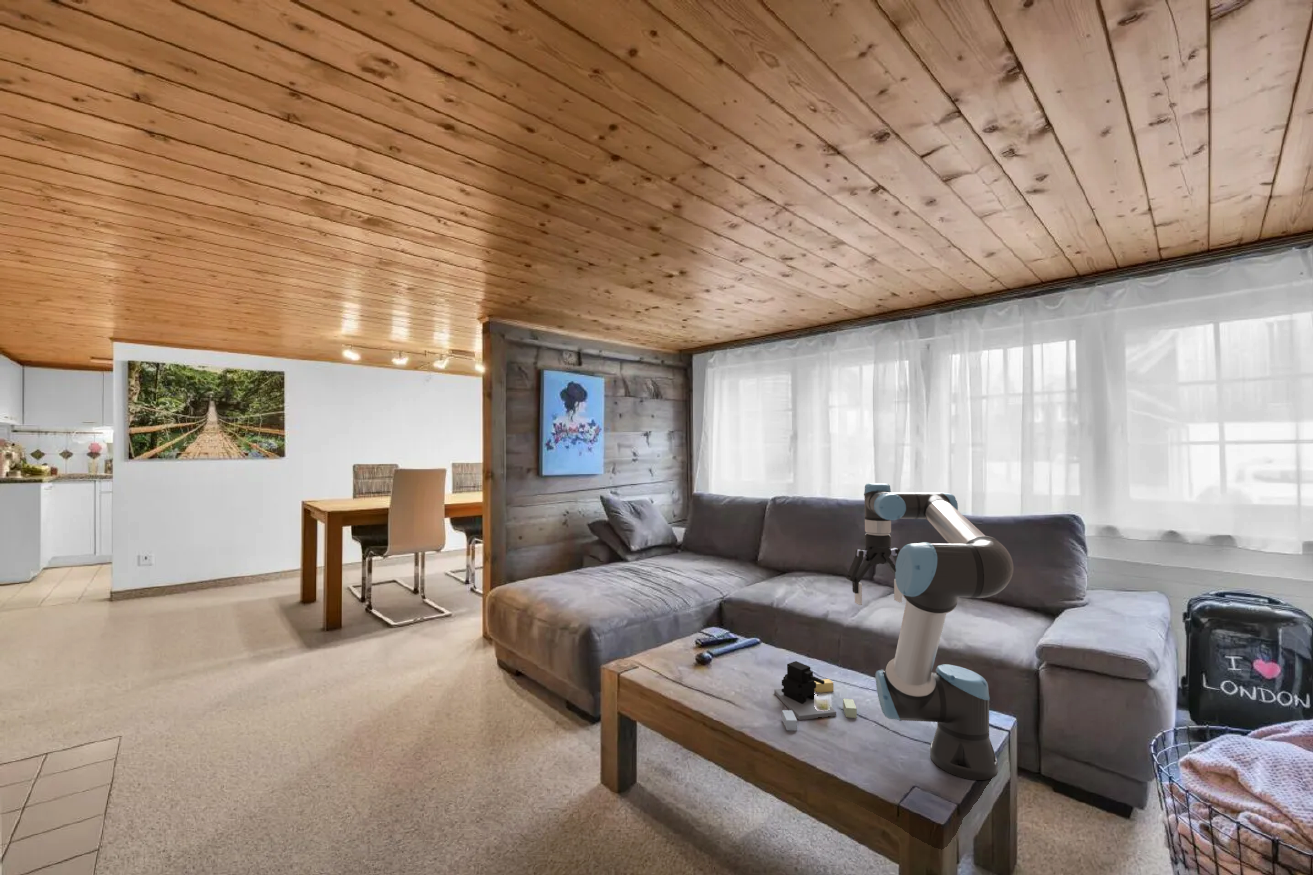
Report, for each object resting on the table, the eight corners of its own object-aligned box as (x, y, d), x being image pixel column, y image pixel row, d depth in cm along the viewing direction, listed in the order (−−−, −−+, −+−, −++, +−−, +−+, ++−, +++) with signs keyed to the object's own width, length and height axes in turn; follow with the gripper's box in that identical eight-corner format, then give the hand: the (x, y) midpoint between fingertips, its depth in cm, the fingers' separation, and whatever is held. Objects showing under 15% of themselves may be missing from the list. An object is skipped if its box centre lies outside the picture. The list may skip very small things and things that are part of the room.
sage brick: (856, 718, 164) (856, 708, 165) (846, 717, 165) (846, 707, 165) (853, 709, 170) (853, 699, 170) (843, 708, 171) (842, 698, 171)
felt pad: (836, 715, 166) (836, 711, 166) (799, 719, 163) (799, 715, 163) (808, 689, 183) (808, 686, 183) (774, 693, 181) (774, 689, 181)
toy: (815, 712, 166) (815, 678, 166) (779, 694, 177) (779, 663, 177) (831, 705, 170) (831, 672, 170) (795, 688, 181) (795, 658, 182)
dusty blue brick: (797, 730, 158) (797, 720, 158) (786, 730, 158) (786, 720, 158) (792, 720, 164) (792, 710, 164) (782, 720, 164) (782, 710, 164)
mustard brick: (828, 687, 185) (828, 678, 185) (833, 691, 182) (833, 682, 182) (812, 689, 184) (812, 680, 184) (816, 693, 181) (816, 684, 181)
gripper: (905, 530, 177) (906, 596, 176) (834, 532, 172) (835, 601, 171) (921, 533, 169) (922, 603, 169) (847, 536, 164) (848, 608, 164)
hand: (878, 602), depth 170 cm, fingers open, 13 cm apart
